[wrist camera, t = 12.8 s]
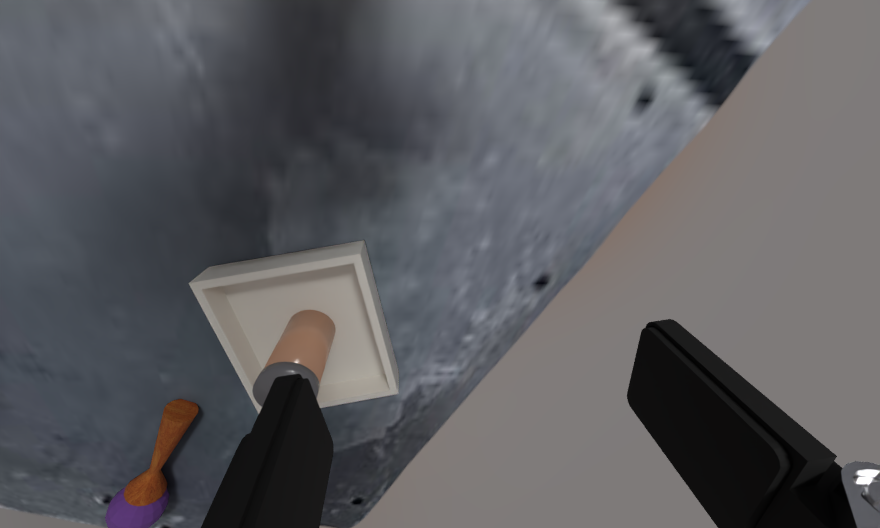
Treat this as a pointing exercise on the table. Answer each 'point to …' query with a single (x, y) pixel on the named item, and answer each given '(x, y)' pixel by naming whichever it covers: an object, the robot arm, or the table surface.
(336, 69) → the table surface
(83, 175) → the table surface
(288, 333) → the cylinder
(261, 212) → the table surface
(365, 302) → the tray
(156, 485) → the brown purple handled piece
